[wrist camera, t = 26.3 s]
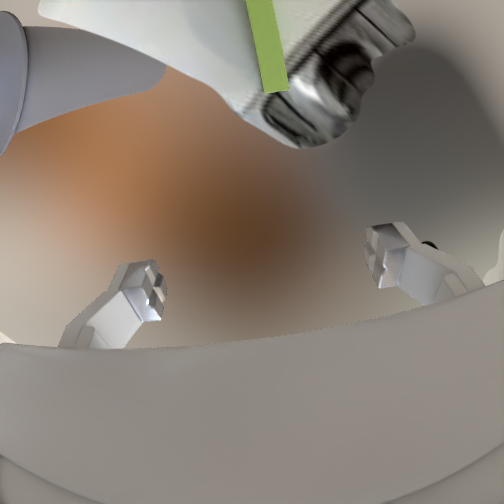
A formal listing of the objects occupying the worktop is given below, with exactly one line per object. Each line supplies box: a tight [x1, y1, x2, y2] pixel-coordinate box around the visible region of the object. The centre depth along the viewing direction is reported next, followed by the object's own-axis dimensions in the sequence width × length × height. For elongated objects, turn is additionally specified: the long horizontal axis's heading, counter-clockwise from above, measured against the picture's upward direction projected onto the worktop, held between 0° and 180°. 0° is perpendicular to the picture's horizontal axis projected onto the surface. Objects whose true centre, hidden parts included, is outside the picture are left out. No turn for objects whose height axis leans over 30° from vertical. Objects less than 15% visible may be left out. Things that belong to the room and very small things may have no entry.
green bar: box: [245, 0, 289, 93], centre depth 23 cm, size 24×3×3 cm, turn 10°
